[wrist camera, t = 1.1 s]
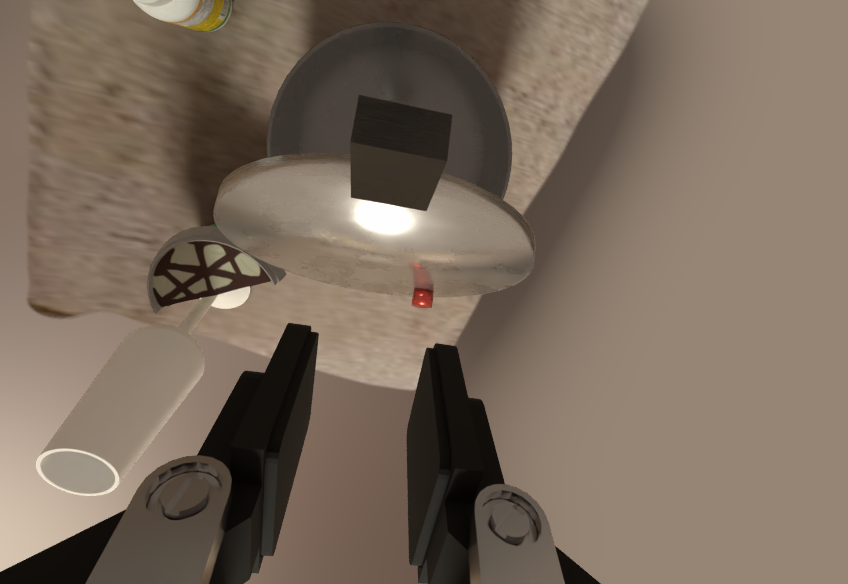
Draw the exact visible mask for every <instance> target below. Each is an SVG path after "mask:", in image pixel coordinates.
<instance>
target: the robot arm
mask: <svg viewBox="0 0 848 584" xmlns="http://www.w3.org/2000/svg"><path fill="white" fill-rule="evenodd" d="M318 336H319V334H318V333H316V332H311V326H307V325H300V324H293V323H288V325H287V326H286V329H285V331H284V333H283V335H282V337H281V339H280V341H279V343H278V346H277V348H276V350H275V352H274V354H273V356H272V358H271V361H270V363H269V365H268V367H267V369H266V371H265V373H261V372H252V371H244V372H243V373H242V375H241V376H240V378H239V380H238V382H237V383H236V385H235V387H234V389H233V391H232V393H231V394H230V396H229V398H228V400H227V402H226V404H225V405H224V407H223V409H222V411H221V413H220V415H219V416H218V418H217V420H216V422H215V424H214V425H213V427H212V429H211V431H210V433H209V434H208V436H207V438H206V440H205V442H204V444H203V445H202V447H201V449H200V451H199V453H198V455H197V456H186V457H182V458H179V459H176V460H172V461H170V462H168V463H166V464H164V465H162V466H160V467H158V468H157V469H156V470H155V471H153V472H152V473H151V474H150V475H148V477H146V478H145V480H144V481H143V482H142V484H141V485H140V486H139V488H138V489H137V491H136V493H135V495H134V496H133V498H132V500H131V502H130V504H129V505H128V507H127V509H126V510H124V511H122V512H120V513H118V514H116V515H114V516H112V517H110V518H108V519H106V520H104V521H102V522H100V523H98V524H96V525H94V526H92V527H90V528H88V529H86V530H84V531H82V532H80V533H78V534H76V535H74V536H72V537H70V538H68V539H66V540H64V541H62V542H60V543H58V544H56V545H54V546H52V547H50V548H48V549H46V550H44V551H42V552H40V553H38V554H36V555H34V556H32V557H30V558H28V559H26V560H24V561H22V562H20V563H17V564H16V565H14V566H12V567H9V568H7V569H6V570H3V571H2V572H0V584H244V583H245V582H247V581H248V580H249V579H250V577H251V573H259V570H260V566H261V563H262V559H263V556H273V555H274V552H275V548H276V545H277V541H278V537H279V533H280V530H281V526H282V522H283V519H284V515H285V511H286V507H287V504H288V500H289V496H290V492H291V489H292V485H293V481H294V477H295V474H296V470H297V467H298V463H299V459H300V455H301V452H302V448H303V444H304V440H305V436H306V433H307V429H308V425H309V420H310V414H311V404H312V394H313V384H314V375H315V366H316V356H317V346H318ZM407 478H408V526H409V562H410V565H417V566H418V583H427V584H600V583H599V582H598V581H597V580H596V579H594V578H593V577H592V576H591V575H589V574H588V573H587V572H586V571H585V570H584V569H582V568H581V567H580V566H579V565H577V564H576V563H575V562H574V561H573V560H571V559H570V558H569V557H568V556H566V555H565V554H564V553H563V552H562V551H561V550H559V549H558V548H557V547H556V546H555V545H554V541H553V537H552V533H551V530H550V526H549V522H548V520H547V517H546V515H545V513H544V511H543V509H542V508H541V507H540V506H539V504H538V503H537V502H536V501H535V500H534V499H533V498H532V497H531V496H530V495H528V494H527V493H526V492H524V491H522V490H520V489H518V488H517V487H513V486H510V485H506V484H505V483H504V479H503V475H502V472H501V468H500V464H499V460H498V457H497V453H496V449H495V445H494V441H493V437H492V434H491V430H490V426H489V423H488V419H487V415H486V411H485V407H484V404H483V402H482V400H480V399H474V398H468V395H467V390H466V386H465V381H464V377H463V372H462V368H461V363H460V359H459V354H458V349H457V347H456V346H451V345H444V344H437V343H436V344H435V345H434V348H427V349H426V352H425V356H424V360H423V364H422V368H421V372H420V377H419V381H418V385H417V389H416V394H415V398H414V402H413V406H412V410H411V415H410V419H409V423H408V428H407Z"/></svg>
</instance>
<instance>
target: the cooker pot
mask: <svg viewBox="0 0 848 584" xmlns="http://www.w3.org/2000/svg"><path fill="white" fill-rule="evenodd" d="M359 95H362V96H367V97H372V98H376V99H381V100H386V101H390V102H395V103H400V104H404V105H409V106H414V107H418V108H423V109H428V110H432V111H437V112H442V113H446V114H451V115H452V123H451V132H450V141H449V149H448V158H447V163H446V165H445V168H444V170H443V173H446V174H449V175H452V176H454V177H457V178H459V179H462V180H464V181H467V182H469V183H472V184H474V185H476V186H478V187H480V188H482V189H484V190H486V191H488V192H490V193H492V194H494V195H496V196H497V197H499V198H500V199H502V200H503V198H504V195H505V193H506V190H507V186H508V182H509V177H510V172H511V161H512V142H511V134H510V128H509V122H508V119H507V116H506V112H505V109H504V106H503V103H502V101H501V99H500V97H499V95H498V92H497V90H496V88H495V87H494V85H493V84H492V82H491V80H490V79H489V77H488V75H487V74H486V73H485V72H484V71H483V69H482V68H481V67H480V66H479V64H478V63H477V62H476V61H475V60H474V59H473V58H472V57H471V56H470V55H469V54H467V53H466V52H465V51H464V50H463V49H462V48H460V47H459V46H457V45H456V44H455V43H453V42H452V41H450V40H449V39H447V38H445V37H443V36H441V35H439V34H437V33H435V32H433V31H431V30H428V29H425V28H422V27H418V26H415V25H410V24H404V23H398V22H374V23H368V24H361V25H357V26H354V27H351V28H348V29H344V30H342V31H340V32H338V33H336V34H333V35H331V36H329V37H327V38H326V39H324V40H323V41H321V42H320V43H319V44H317V45H316V46H314V47H313V48H311V49H310V50H309V51H308V52H307V53H306V54H305V55H304V56H303V57H302V58H301V59H300V60H299V61H298V62H297V63H296V65H295V66H294V67H293V69H292V70H291V71H290V73H289V74H288V75H287V77H286V79H285V80H284V82H283V84H282V86H281V88H280V89H279V91H278V94H277V97H276V99H275V102H274V104H273V107H272V111H271V115H270V120H269V124H268V134H267V158H269V157H275V156H280V155H287V154H300V153H342V154H350V141H351V135H352V130H353V124H354V119H355V113H356V108H357V103H358V97H359Z"/></svg>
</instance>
